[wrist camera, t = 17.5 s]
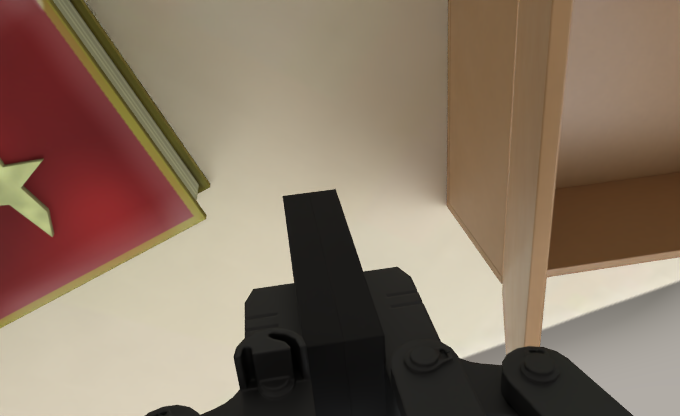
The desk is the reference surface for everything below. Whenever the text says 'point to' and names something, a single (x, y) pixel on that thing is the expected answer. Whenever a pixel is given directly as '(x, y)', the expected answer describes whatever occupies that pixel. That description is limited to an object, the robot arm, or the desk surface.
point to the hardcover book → (79, 157)
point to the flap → (533, 163)
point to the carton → (573, 132)
